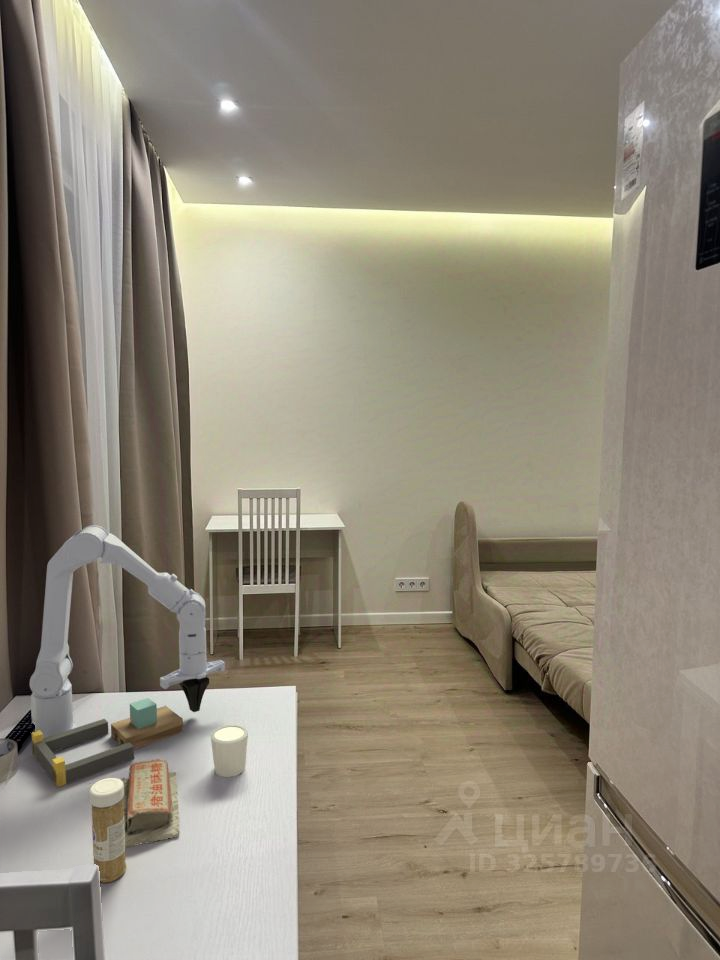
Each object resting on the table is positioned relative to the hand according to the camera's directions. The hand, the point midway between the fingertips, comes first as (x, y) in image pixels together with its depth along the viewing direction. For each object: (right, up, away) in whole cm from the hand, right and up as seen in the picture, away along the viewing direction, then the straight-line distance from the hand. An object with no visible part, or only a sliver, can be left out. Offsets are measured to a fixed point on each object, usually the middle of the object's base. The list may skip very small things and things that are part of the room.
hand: (194, 709), depth 138 cm
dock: (-18, -3, -16) cm, 24 cm away
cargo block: (-8, 0, -8) cm, 12 cm away
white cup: (+12, -4, -20) cm, 24 cm away
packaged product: (+1, -6, -32) cm, 33 cm away
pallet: (-8, -3, -7) cm, 11 cm away
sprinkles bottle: (0, -7, -47) cm, 47 cm away
